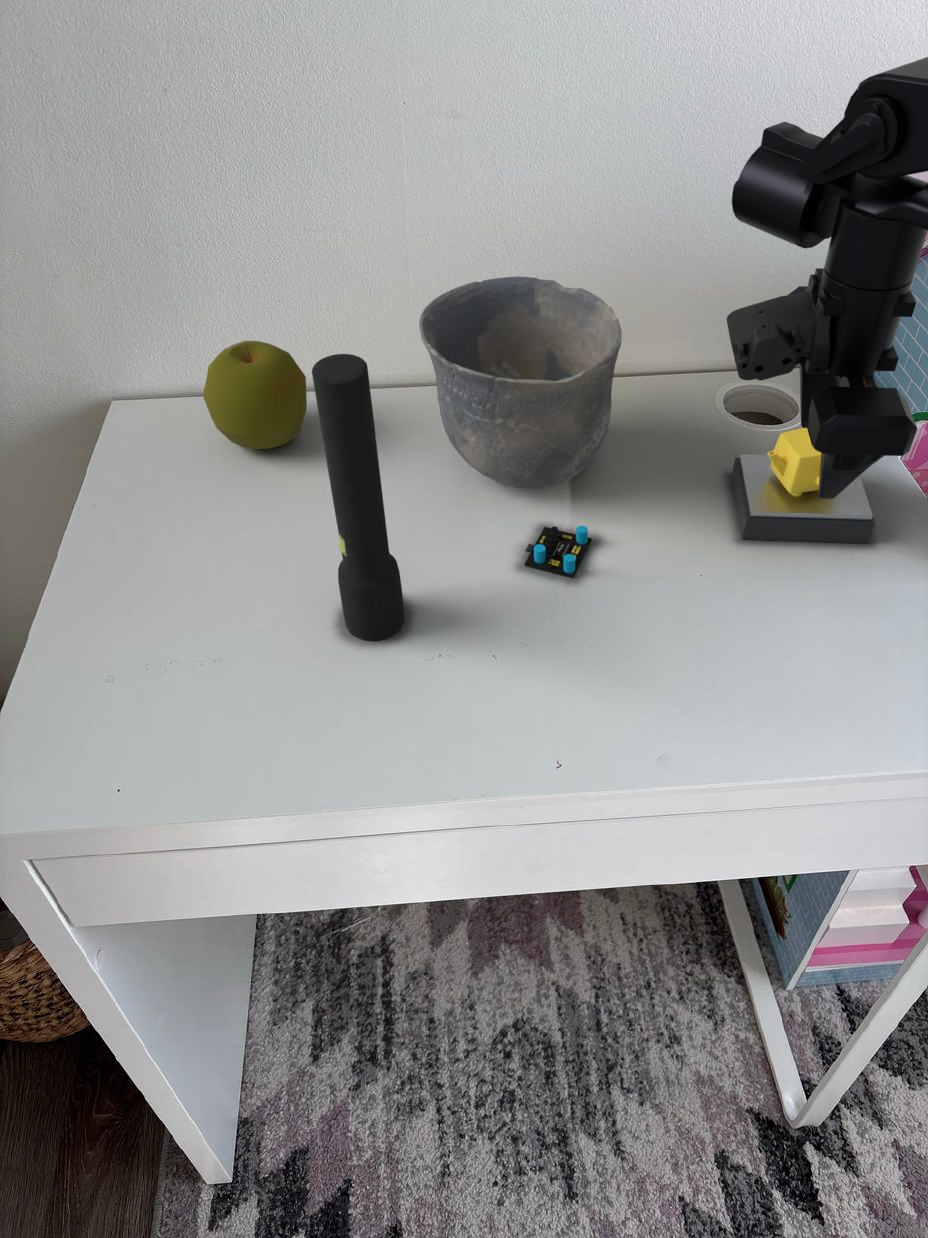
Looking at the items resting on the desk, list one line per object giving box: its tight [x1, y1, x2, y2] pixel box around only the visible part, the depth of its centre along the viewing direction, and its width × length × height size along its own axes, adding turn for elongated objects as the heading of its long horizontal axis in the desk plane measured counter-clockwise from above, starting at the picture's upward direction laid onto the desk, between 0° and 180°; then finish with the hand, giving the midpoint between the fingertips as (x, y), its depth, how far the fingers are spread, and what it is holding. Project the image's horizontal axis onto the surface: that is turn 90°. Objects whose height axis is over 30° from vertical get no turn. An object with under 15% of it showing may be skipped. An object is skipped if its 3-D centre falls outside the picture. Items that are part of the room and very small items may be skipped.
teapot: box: [766, 427, 821, 496], centre depth 85 cm, size 8×6×5 cm
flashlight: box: [311, 353, 406, 642], centre depth 72 cm, size 5×24×5 cm
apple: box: [202, 340, 308, 450], centre depth 95 cm, size 10×10×11 cm
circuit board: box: [524, 525, 593, 579], centre depth 85 cm, size 5×2×5 cm
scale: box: [730, 453, 876, 544], centre depth 88 cm, size 11×9×3 cm
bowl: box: [418, 275, 623, 489], centre depth 89 cm, size 18×18×15 cm
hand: (816, 460), depth 76 cm, fingers open, 9 cm apart
